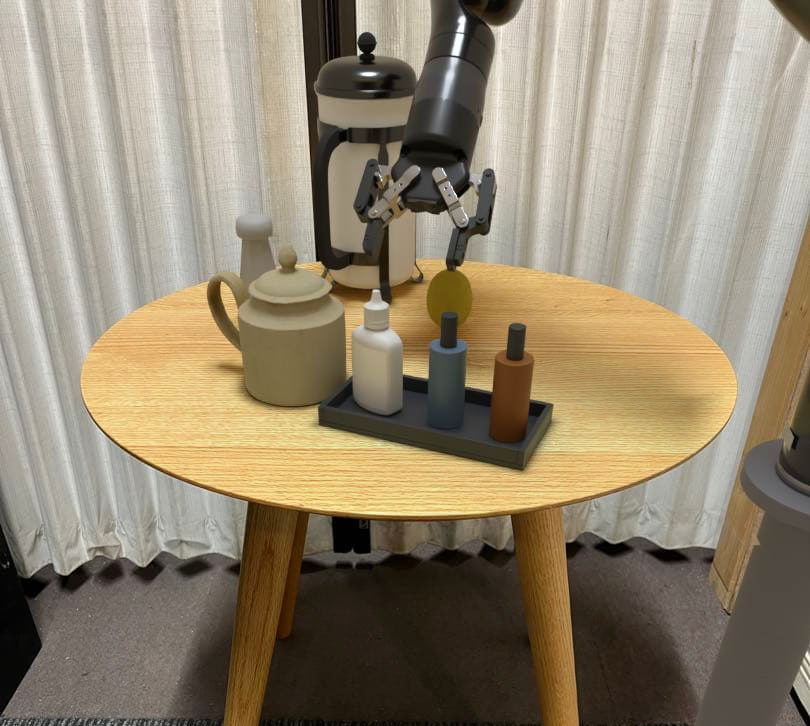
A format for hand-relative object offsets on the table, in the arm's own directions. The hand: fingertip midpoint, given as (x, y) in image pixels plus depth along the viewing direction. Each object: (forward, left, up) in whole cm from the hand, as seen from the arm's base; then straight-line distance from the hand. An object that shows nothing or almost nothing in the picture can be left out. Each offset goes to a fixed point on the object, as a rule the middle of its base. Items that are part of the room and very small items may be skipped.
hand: (410, 263), depth 84 cm
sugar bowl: (+12, +8, -13) cm, 19 cm away
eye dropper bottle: (0, +9, -12) cm, 15 cm away
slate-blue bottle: (-8, +9, -12) cm, 17 cm away
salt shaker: (+22, -6, -13) cm, 26 cm away
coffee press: (+15, -22, -13) cm, 29 cm away
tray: (-7, +9, -12) cm, 17 cm away
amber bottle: (-14, +9, -12) cm, 21 cm away
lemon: (0, -13, -13) cm, 18 cm away
